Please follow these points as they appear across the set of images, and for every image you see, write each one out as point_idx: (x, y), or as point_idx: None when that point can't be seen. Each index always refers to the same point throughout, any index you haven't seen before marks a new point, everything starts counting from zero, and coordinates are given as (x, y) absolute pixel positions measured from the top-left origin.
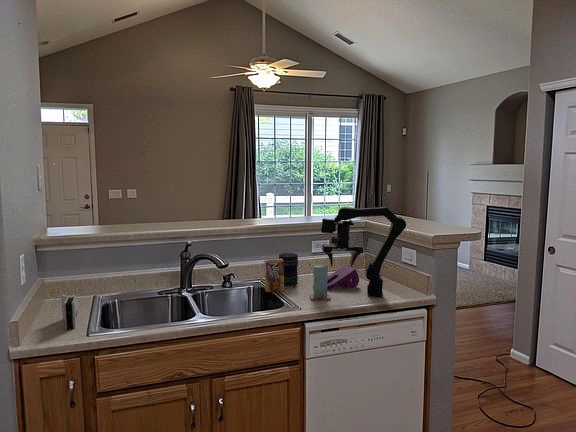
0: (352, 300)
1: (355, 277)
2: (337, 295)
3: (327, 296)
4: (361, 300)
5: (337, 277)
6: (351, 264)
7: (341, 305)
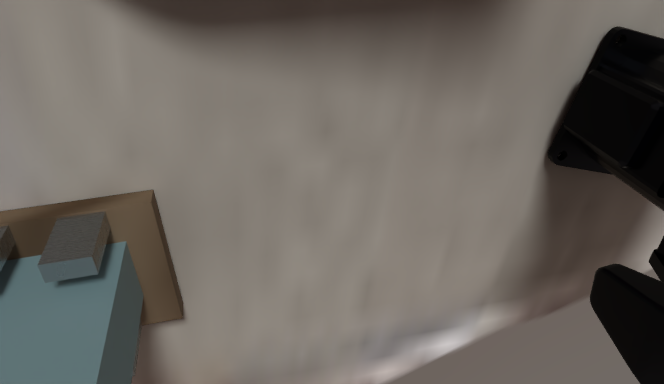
0: (381, 265)
1: None
2: (249, 146)
3: (142, 273)
4: (457, 253)
5: None
6: (635, 370)
7: (277, 379)
